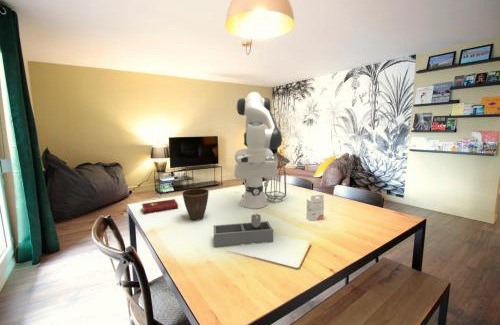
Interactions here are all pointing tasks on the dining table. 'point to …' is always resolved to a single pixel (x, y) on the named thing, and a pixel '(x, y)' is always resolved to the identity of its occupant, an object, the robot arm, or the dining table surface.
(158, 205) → the hardcover book
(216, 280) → the dining table surface
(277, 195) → the geometric lantern
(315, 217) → the ink cartridge box
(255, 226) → the metal cell
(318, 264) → the dining table surface
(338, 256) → the dining table surface
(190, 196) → the plant pot
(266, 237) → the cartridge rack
